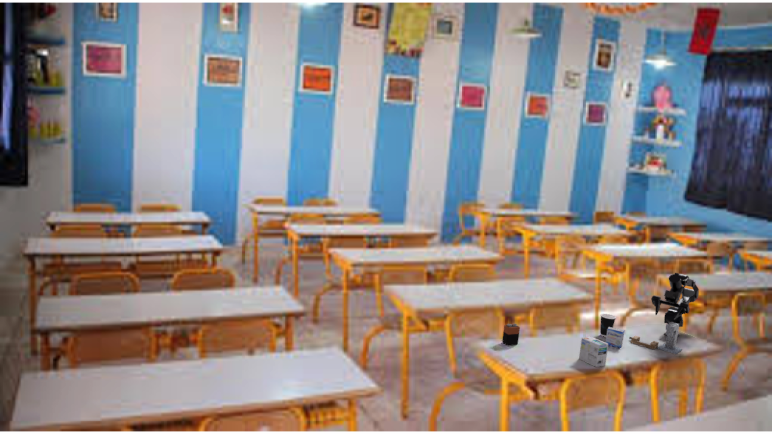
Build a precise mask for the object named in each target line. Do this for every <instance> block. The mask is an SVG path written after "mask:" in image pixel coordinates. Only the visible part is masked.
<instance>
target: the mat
mask: <svg viewBox="0 0 772 434" xmlns="http://www.w3.org/2000/svg"><path fill="white" fill-rule="evenodd" d="M657 349H658V350H661V351H664V352H668V353H671V354H675V355H677V354H679V353H680V352H681V351H683V348H681V347H678V346H676V347H675V349H674V350H671V349H668V348H665V343H663V344H660V345H658V347H657Z"/></svg>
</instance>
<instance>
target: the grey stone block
mask: <svg viewBox="0 0 772 434" xmlns="http://www.w3.org/2000/svg"><path fill="white" fill-rule="evenodd" d="M679 328H680V327H679V324H678V323H674V322H670V323H668V324H667V323H666V325H665V332H666V335H665V336H666V339H665V343H664V344H665V348H668V349H671V350H674V349H675V347H677V346H676V345H677V341H678V337H677V335H678V334H679Z"/></svg>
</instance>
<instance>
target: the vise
mask: <svg viewBox="0 0 772 434" xmlns="http://www.w3.org/2000/svg"><path fill="white" fill-rule="evenodd" d="M629 339H630V343H631V344H635V345H638V346H641V347H644V348H648V349H651V350H655V349H658V347H659V341H656V340H653V341H651V342H650V343H645V342H642V341H641V336H638V335H634V336H629Z"/></svg>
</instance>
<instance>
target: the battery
mask: <svg viewBox="0 0 772 434" xmlns="http://www.w3.org/2000/svg"><path fill="white" fill-rule="evenodd" d="M520 329H521V327H520V326H519V325H518V324H516V323H513V324H511V323H507V324H504V326H503V333H502V340H501V341H502V343H503V344H504V345H506V346H513V345H515V346H516V345H518V344H519V337H520V331H521V330H520Z"/></svg>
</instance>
